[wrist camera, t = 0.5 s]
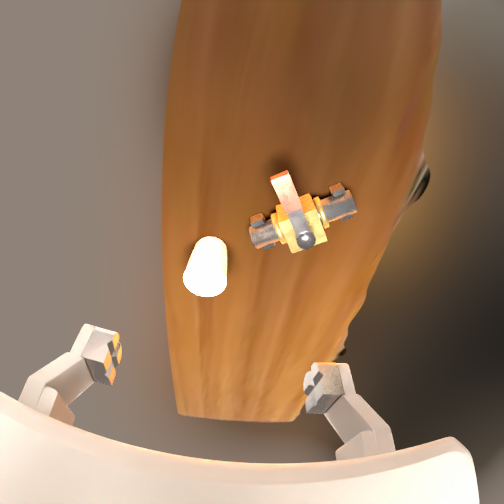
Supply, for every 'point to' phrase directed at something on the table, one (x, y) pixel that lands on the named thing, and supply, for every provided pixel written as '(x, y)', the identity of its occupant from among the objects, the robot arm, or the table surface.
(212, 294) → the white cup
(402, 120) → the table surface
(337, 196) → the valve
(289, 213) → the lever
